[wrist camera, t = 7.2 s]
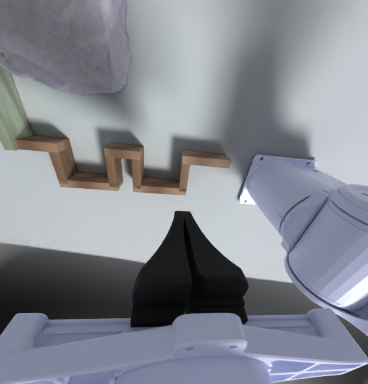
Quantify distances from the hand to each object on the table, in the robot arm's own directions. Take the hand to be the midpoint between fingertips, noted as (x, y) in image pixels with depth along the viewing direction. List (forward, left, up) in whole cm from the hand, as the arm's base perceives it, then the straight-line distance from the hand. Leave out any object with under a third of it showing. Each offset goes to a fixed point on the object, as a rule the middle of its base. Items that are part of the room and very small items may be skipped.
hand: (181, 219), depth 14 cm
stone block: (+12, -13, -10) cm, 21 cm away
